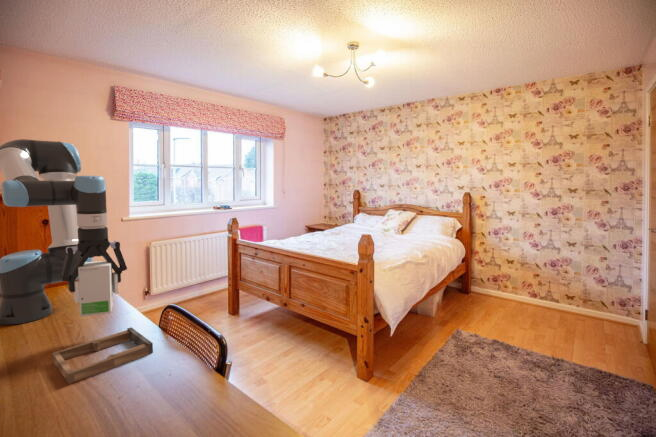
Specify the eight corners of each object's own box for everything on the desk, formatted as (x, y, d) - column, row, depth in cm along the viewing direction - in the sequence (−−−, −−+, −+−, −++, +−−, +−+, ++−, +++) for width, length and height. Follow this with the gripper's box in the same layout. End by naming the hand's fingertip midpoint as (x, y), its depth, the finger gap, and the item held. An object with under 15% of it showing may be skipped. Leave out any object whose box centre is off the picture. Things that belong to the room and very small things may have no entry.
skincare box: (79, 317, 101) (75, 267, 98) (83, 309, 106) (80, 261, 104) (112, 313, 104) (109, 264, 102) (114, 305, 110) (111, 259, 108)
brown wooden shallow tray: (52, 361, 92) (52, 351, 92) (131, 336, 107) (131, 327, 107) (68, 384, 82) (67, 372, 82) (152, 352, 98) (152, 342, 97)
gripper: (48, 232, 91) (54, 310, 94) (137, 224, 108) (139, 291, 111) (42, 228, 95) (48, 303, 99) (128, 221, 113) (130, 285, 116)
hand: (96, 296), depth 105 cm, fingers closed on skincare box, 10 cm apart
